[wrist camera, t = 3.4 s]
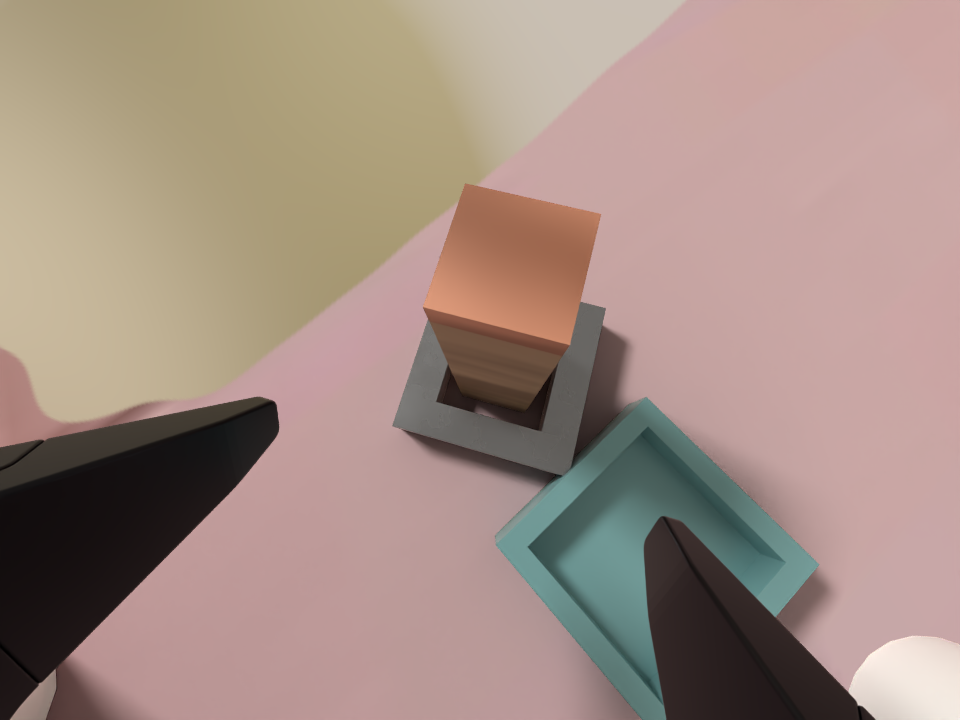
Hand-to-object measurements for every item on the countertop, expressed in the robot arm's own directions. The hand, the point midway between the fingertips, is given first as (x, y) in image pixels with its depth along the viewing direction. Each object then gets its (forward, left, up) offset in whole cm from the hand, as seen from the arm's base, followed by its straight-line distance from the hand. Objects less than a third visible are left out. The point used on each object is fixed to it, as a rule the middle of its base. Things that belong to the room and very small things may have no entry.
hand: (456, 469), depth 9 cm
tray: (-8, -3, -13) cm, 15 cm away
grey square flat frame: (+3, -4, -13) cm, 14 cm away
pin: (+3, -4, -13) cm, 14 cm away
